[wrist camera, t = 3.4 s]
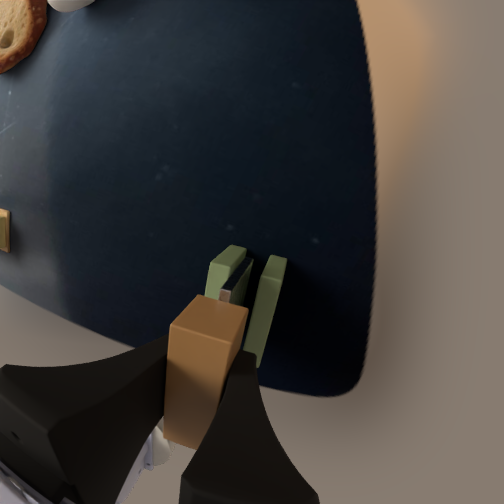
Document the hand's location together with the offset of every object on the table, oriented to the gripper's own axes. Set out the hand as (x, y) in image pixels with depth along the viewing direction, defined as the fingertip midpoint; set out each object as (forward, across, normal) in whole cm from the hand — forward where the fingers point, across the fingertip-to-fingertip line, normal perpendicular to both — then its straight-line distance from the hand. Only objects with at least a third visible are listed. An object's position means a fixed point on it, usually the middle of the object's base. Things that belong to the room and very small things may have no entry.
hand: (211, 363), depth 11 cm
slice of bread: (+8, +33, -21) cm, 40 cm away
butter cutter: (+5, 0, 0) cm, 5 cm away
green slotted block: (+8, 0, 0) cm, 8 cm away
